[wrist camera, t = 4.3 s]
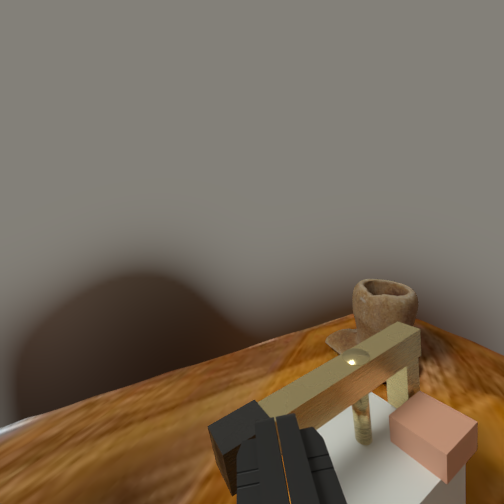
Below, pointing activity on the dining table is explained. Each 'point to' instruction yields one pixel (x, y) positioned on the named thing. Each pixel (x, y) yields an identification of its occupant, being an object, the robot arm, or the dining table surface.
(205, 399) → the dining table surface
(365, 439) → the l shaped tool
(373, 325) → the stone cup
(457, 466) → the block
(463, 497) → the box
